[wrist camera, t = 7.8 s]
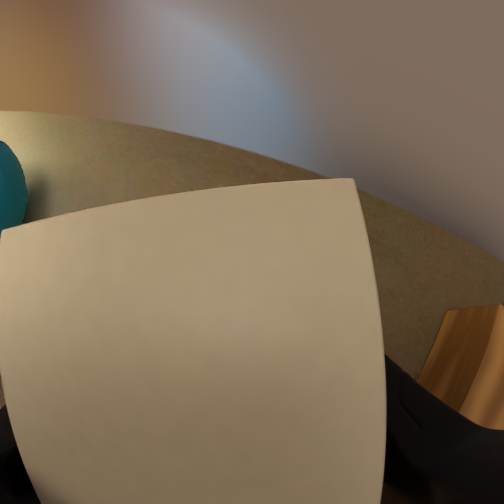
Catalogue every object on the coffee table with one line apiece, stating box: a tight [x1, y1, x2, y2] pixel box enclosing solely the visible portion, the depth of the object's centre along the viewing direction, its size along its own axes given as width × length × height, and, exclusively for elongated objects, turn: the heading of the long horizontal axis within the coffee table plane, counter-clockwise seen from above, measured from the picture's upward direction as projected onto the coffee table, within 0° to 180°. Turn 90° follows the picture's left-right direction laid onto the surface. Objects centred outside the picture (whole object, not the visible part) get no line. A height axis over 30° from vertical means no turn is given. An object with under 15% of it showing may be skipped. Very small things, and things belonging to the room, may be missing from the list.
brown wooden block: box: [416, 304, 504, 430], centre depth 15 cm, size 10×10×7 cm
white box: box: [0, 178, 387, 504], centre depth 7 cm, size 6×6×8 cm
